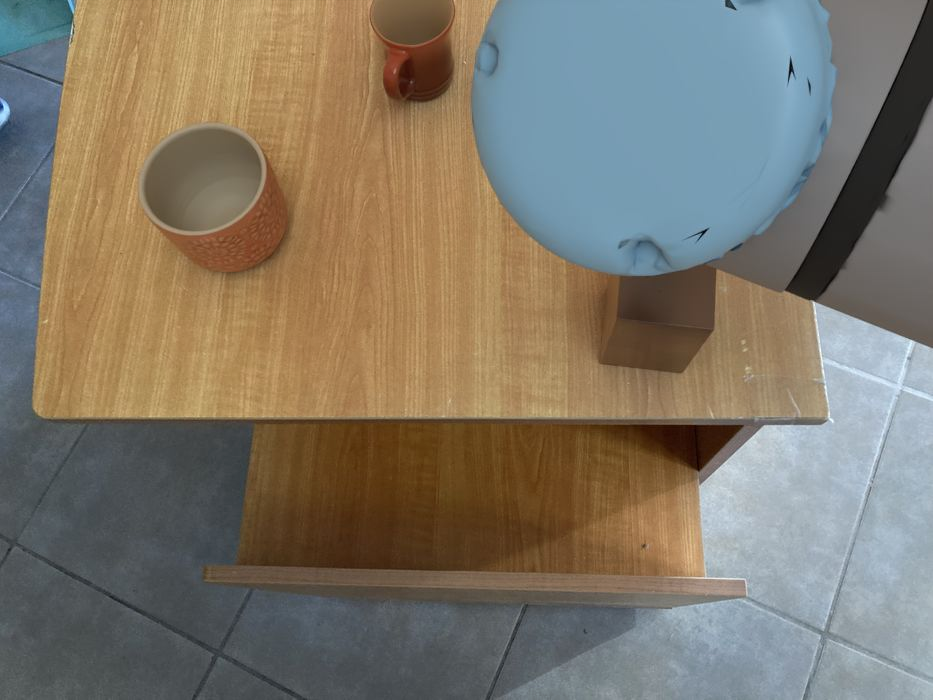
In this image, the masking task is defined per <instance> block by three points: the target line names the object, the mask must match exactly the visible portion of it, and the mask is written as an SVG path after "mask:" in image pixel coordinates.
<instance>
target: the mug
mask: <svg viewBox="0 0 933 700" xmlns="http://www.w3.org/2000/svg"><path fill="white" fill-rule="evenodd" d="M368 17H369V23H370V26H371V28H372V30H373V32H374V33H375V35H376V36H377V38H378V39H379V41H380V42H381V44H382V48H383V49H382V50H383V55H384V62H385V64H384V67H383V72H382V83H383V89H384V91H385V94H386V96H387V97H388V98H389V99H390V100H392V101H397V102H403V101H405V100H406V99H407V100H410V101H414V102H415V101H416V102H425V101H429V100H433V99H435V98H438V97H439V96H441V95H442V94H444V93H445V91H447V90H448V88H449V86H450V84H451V83H452V80H453V75H454V67H455V60H454V59H455V58H454V54H453V45H452V38H451V31H452V28H453V25H454V22H455V17H456V5H455V1H454V0H372V2H371V4H370V8H369V16H368Z"/></svg>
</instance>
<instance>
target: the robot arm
mask: <svg viewBox="0 0 933 700" xmlns="http://www.w3.org/2000/svg"><path fill="white" fill-rule="evenodd" d="M470 88H471V89H470V108H471V110H470V113H471V123H472V130H473V137H474V142H475V146H476V151H477V154H478V158H479V161H480V165H481V167H482V170H483V171H484V173H485V175H486V178H487V180H488V182H489V184H490V187H491V188H492V191H493V192H494V194H495V196H496V198H497V200H498V202H499V203H500V205H501V206H502V207H503V208H504V210H505V211H506V212H507V213H508V215H509V216H510V217H511V218H512V220H513V221H514V222H515V224H517V226H518V227H519V228H521V230H522V231H523V232H524V233H526V235H528V237H530V238H531V239H532V240H533V241H535V242H536V243H537V244H538V245H540V246H541V247H543V248H544V249H545V250H547V251H548V252H550V253H552V254H553V255H555V256H557V257H558V258H560V259H562V260H563V261H566V262H568V263H570V264H573V265H575V266H578V267H581V268H583V269H587V270H591V271H593V272H598V273H602V274H606V275H611V274H612V275H622V276H653V275H659V274H664V273H670V272H678V271H682V270H686V269H689V268H691V267H694V266H697V265H704V264H705V265H708V266H710V267H713V268H716V270H719V271H721V272H723V273H726V274H727V275H728V274H729V275H731V276H733V277H736V278H739V279H741V280H744V281H746V282H748V283H751V284H754V285H757V286H759V287H762V288H765V289H768V290H769V291H773V292H775V293H779V294H782V293H783V292H787V293H789V294H792V295H794V296H796V297H799V298H801V299H804V300H806V301H812V302H813V303H816V304H819V305H821V306H824V307H826V308H829V309H832V310H834V311H836V312H839V313H842V314H844V315H847V316H850V317H852V318H854V319H857V320H859V321H862V322H864V323H867V324H870V325H872V326H874V327H877V328H879V329H882V330H884V331H887V332H890V333H893V334H895V335H898V336H900V337H902V338H905V339H907V340H909V341H913V342H914V343H915V342H916V343H918V344H921V345H923V346H926V347H928V348H930V349H933V0H497V1H496V3H495V5H494V7H493V9H492V11H491V13H490V15H489V17H488V20H487V22H486V24H485V27H484V30H483V33H482V36H481V39H480V42H479V44H478V46H477V48H476V50H475V54H474V67H473V71H472V79H471V87H470Z"/></svg>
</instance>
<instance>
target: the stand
mask: <svg viewBox="0 0 933 700" xmlns="http://www.w3.org/2000/svg"><path fill="white" fill-rule="evenodd" d="M716 293H717V269H716V268H713V267H710V266H708V265H705V264H704V265H697V266H694V267H691V268H689V269H686V270H682V271H678V272H670V273H664V274H659V275H653V276H622V275H612V274H610V275H609V279H608V283H607V286H606V288H605V296H604V297H605V298H604V309H603V320H602V331H601V342H600V352H599V353H600V354H599V365H607V366H614V367H624V368H630V369H631V368H632V369H640V370H648V371H649V370H650V371H657V372H658V371H659V372H665V373H673V374H683V373H684V372H685V371H686V369H687V367H688V366H689V365H690V363H691V362H692V361H693V359H694V358H695V356H697V354H698V352H699V351H700V350H701V348H702V347H703V345H704V344H705V343H706V342H707V340H708V339H709V337H710V336H711V335H712V333H713V332H714V331H715V317H716V316H715V315H716Z"/></svg>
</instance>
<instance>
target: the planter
mask: <svg viewBox="0 0 933 700" xmlns="http://www.w3.org/2000/svg"><path fill="white" fill-rule="evenodd" d="M137 196H138V200H139V204H140V206H141V209H142V211H143V212H144V214H145V216H146V217H147V218H148V220H149V221H150V222H151V224H152V225H153V226H154V227H155V228H156V229H157V230H158V231H159V232H160V233H161V234H162V235H163V236H164V237H165V238H166V239H167V240H168V241H169V242H170V243H171V244H172V245H174V246H175V247H176V249H177V250H178V251H179V252H180V253H181V254H182V255H184V256H185V257H186V258H187V259H188V260H190V261H191V262H193V263H195V264H196V265H197V266H200V267H202V268H204V269H207V270H210V271H215V272H221V273H231V272H233V273H234V272H240V271H244V270H247V269H250V268H252V267H254V266H256V265H258V264H260V263H262V262H263V261H265V260H266V259H267V258H268V257H269V256H271V255H272V254H273V252H275V250H276V249H277V248H278V246H279V244H280V243H281V241H282V239H283V237H284V234H285V231H286V228H287V222H288V208H287V203H286V202H287V201H286V199H285V196H284V192H283V190H282V188H281V185H280V184H279V181H278V179H277V176H276V174H275V172H274V169H273V167H272V165H271V163H270V161H269V158H268V156H267V154H266V152H265V151H264V149H263V148H262V146H261V145H260V144H259V142H258V141H257V140H256V139H255V138H254V137H253V136H252V135H251V134H250V133H248V132H247V131H245V130H244V129H241V128H240V127H238V126H236V125H233V124H229V123H225V122H220V121H219V122H218V121H205V122H197V123H193V124H189V125H186V126H183V127H180V128H178V129H176V130H174V131H173V132H171V133H169V134H167V135H166V136H165V137H164V138H162V139H161V140H159V142H157V144H155V145H154V146H153V148H152V149H151V150H150V152H149V153H148V154H147V155H146V157H145V159H144V161H143V163H142V165H141V167H140V170H139V173H138V177H137Z"/></svg>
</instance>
